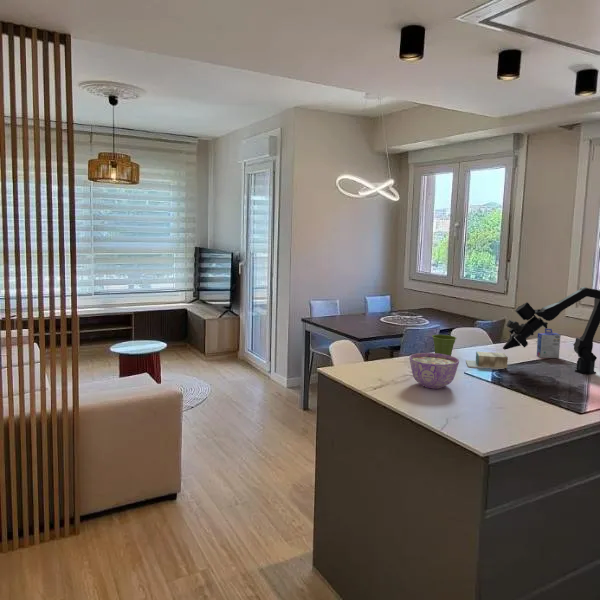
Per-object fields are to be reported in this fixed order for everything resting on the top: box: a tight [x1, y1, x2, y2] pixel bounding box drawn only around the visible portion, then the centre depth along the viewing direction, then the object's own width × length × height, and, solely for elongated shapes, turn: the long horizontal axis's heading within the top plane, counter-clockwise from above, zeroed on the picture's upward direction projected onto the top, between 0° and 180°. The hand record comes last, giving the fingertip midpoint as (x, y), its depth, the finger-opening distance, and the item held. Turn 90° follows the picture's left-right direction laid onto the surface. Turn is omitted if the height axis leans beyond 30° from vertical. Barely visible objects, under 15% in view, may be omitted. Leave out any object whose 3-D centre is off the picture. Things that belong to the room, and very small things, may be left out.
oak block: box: [475, 350, 509, 369], centre depth 249 cm, size 5×9×13 cm
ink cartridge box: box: [536, 328, 562, 359], centre depth 269 cm, size 10×6×14 cm, turn 89°
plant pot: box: [431, 334, 458, 356], centre depth 261 cm, size 12×12×11 cm
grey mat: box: [465, 359, 505, 370], centre depth 250 cm, size 16×12×1 cm
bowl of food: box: [409, 352, 460, 390], centre depth 215 cm, size 20×20×12 cm
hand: (503, 348), depth 247 cm, fingers closed
